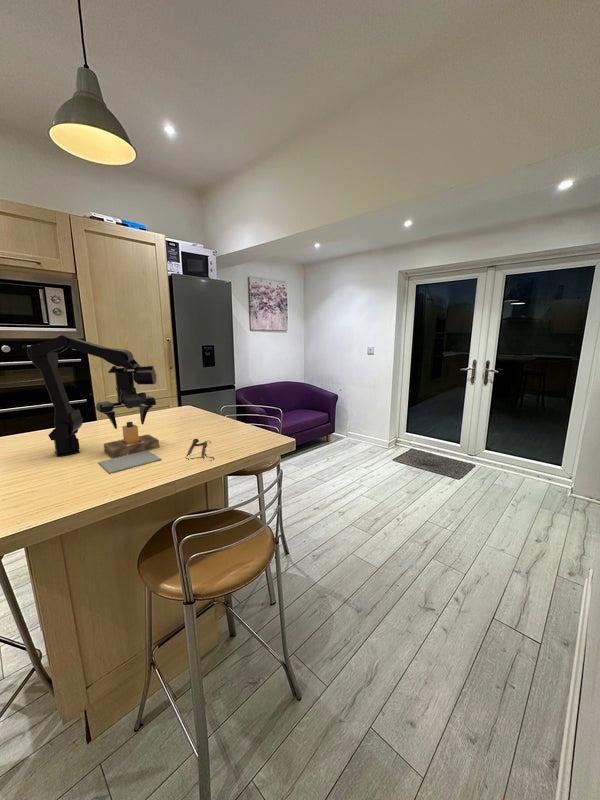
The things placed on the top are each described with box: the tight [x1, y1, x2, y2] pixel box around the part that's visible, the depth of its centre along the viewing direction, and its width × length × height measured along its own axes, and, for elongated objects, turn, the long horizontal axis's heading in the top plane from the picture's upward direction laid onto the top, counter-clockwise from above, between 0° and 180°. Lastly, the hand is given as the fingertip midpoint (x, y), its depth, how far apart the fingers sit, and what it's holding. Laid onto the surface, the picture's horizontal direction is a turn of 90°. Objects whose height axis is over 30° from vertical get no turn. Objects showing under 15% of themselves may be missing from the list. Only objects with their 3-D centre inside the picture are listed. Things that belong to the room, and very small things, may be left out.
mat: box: [97, 450, 162, 475], centre depth 109 cm, size 16×12×1 cm
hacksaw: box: [186, 438, 215, 462], centre depth 120 cm, size 24×10×2 cm, turn 10°
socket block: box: [103, 434, 160, 459], centre depth 121 cm, size 16×10×3 cm, turn 136°
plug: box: [122, 421, 140, 445], centre depth 120 cm, size 4×4×10 cm
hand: (129, 426), depth 119 cm, fingers open, 9 cm apart
